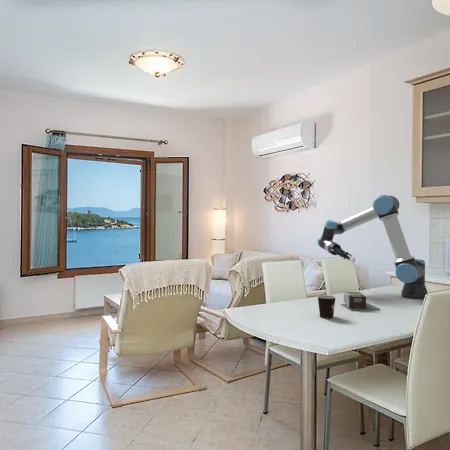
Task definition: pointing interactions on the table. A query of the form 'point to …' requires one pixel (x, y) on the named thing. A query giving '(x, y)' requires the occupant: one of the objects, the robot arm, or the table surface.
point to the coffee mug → (326, 306)
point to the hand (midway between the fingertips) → (353, 260)
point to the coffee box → (355, 300)
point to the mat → (368, 307)
